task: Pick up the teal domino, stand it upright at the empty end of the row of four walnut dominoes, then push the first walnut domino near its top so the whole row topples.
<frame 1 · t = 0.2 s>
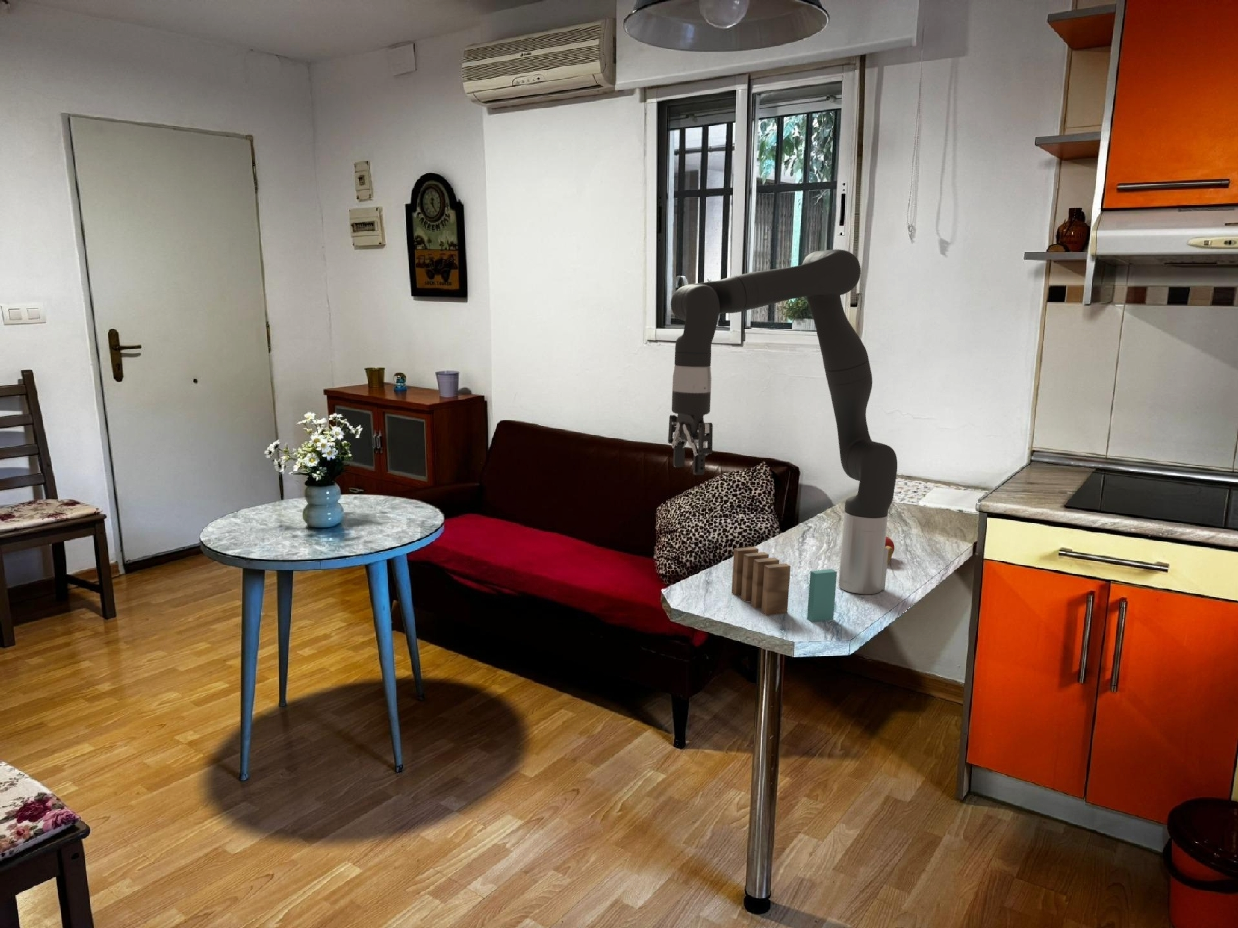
hand: (688, 470, 169), 29 cm above the breakfast bar, tool pointing down, fingers open, 8 cm apart
kendama: (872, 565, 210), on the breakfast bar
domino 1: (743, 593, 185), on the breakfast bar
domino 3: (763, 605, 178), on the breakfast bar
domino 2: (753, 599, 182), on the breakfast bar
teal domino: (820, 619, 171), on the breakfast bar
domino 4: (774, 612, 174), on the breakfast bar
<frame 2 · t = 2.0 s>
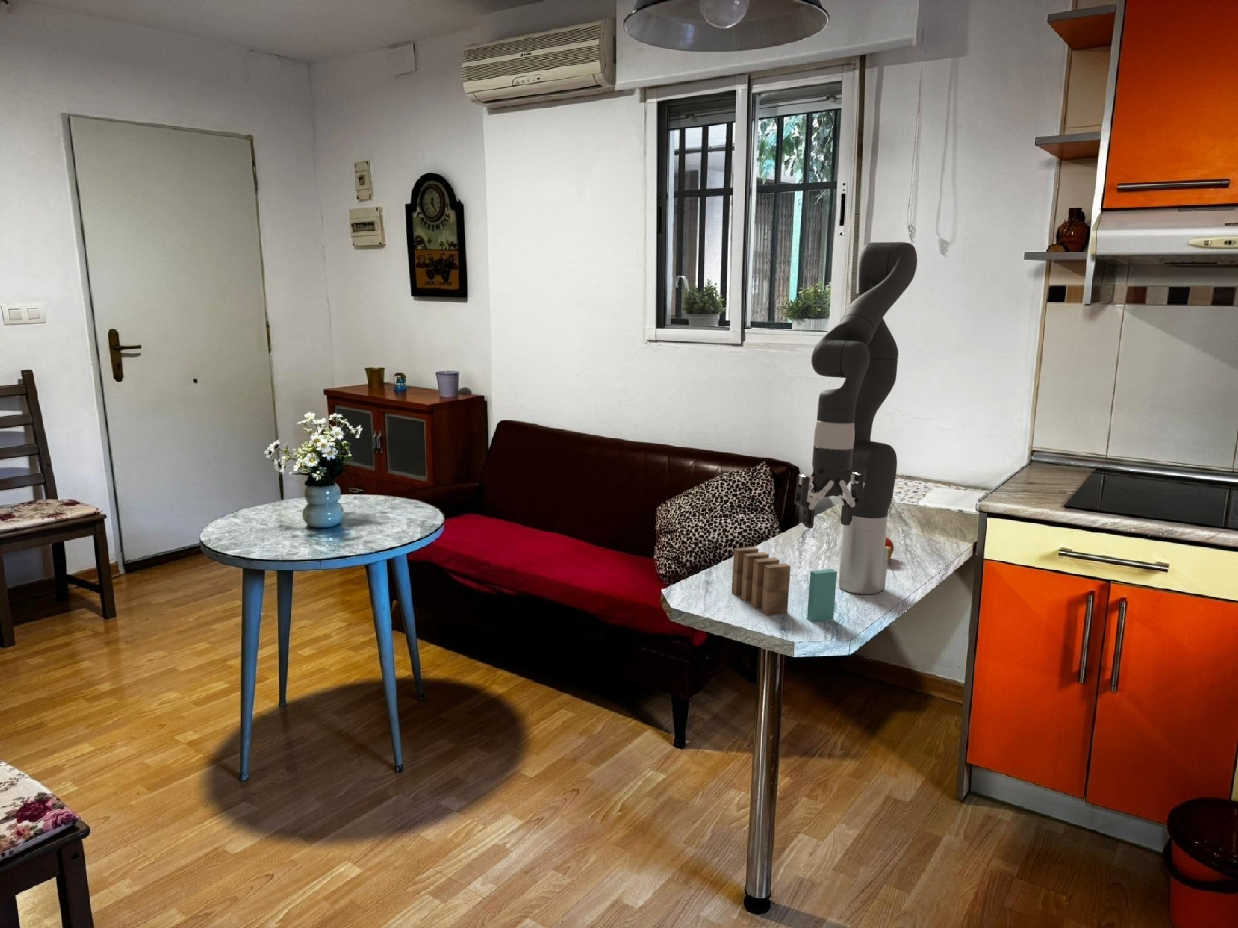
hand: (826, 525, 167), 19 cm above the breakfast bar, tool pointing down, fingers open, 8 cm apart
nothing on the breakfast bar moved.
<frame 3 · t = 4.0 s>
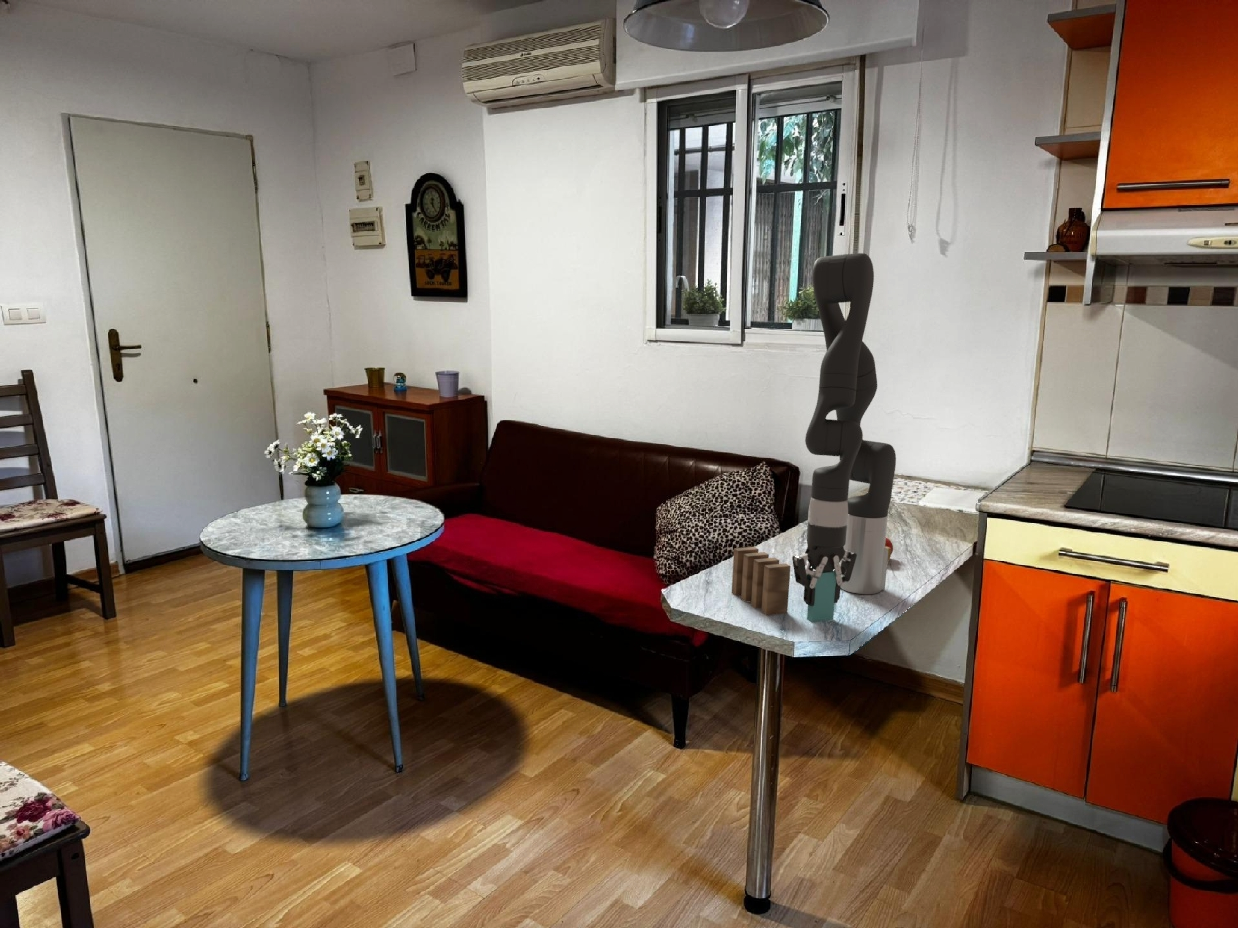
hand: (821, 602, 170), 3 cm above the breakfast bar, tool pointing down, fingers closed on teal domino, 5 cm apart
teal domino: (820, 619, 171), on the breakfast bar, touching gripper
when the fingers open (4 cm above the breakfast bar, at t = 9.5 s): teal domino stays where it is, on the breakfast bar.
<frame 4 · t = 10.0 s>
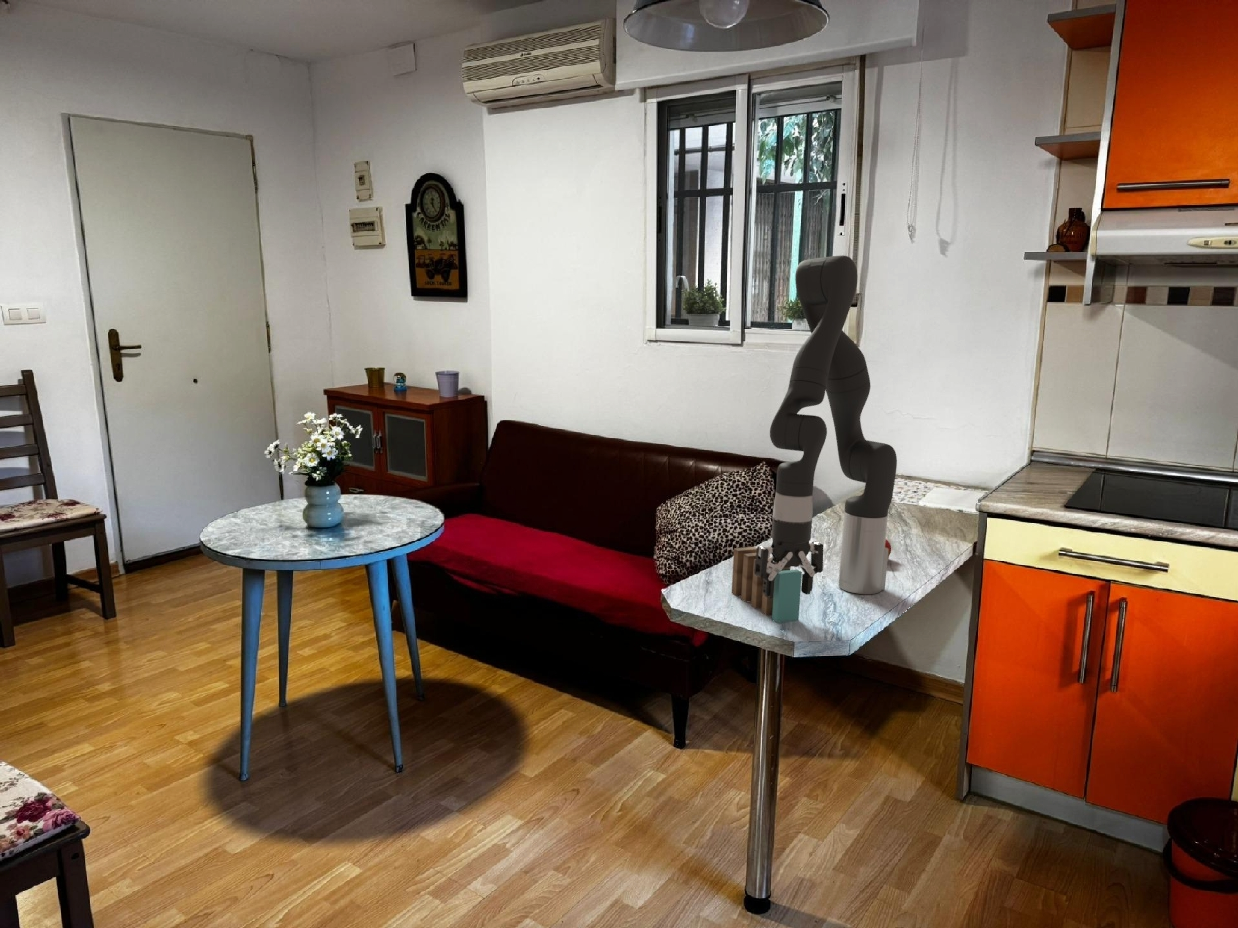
hand: (787, 595, 169), 5 cm above the breakfast bar, tool pointing down, fingers open, 8 cm apart
teal domino: (785, 619, 170), on the breakfast bar
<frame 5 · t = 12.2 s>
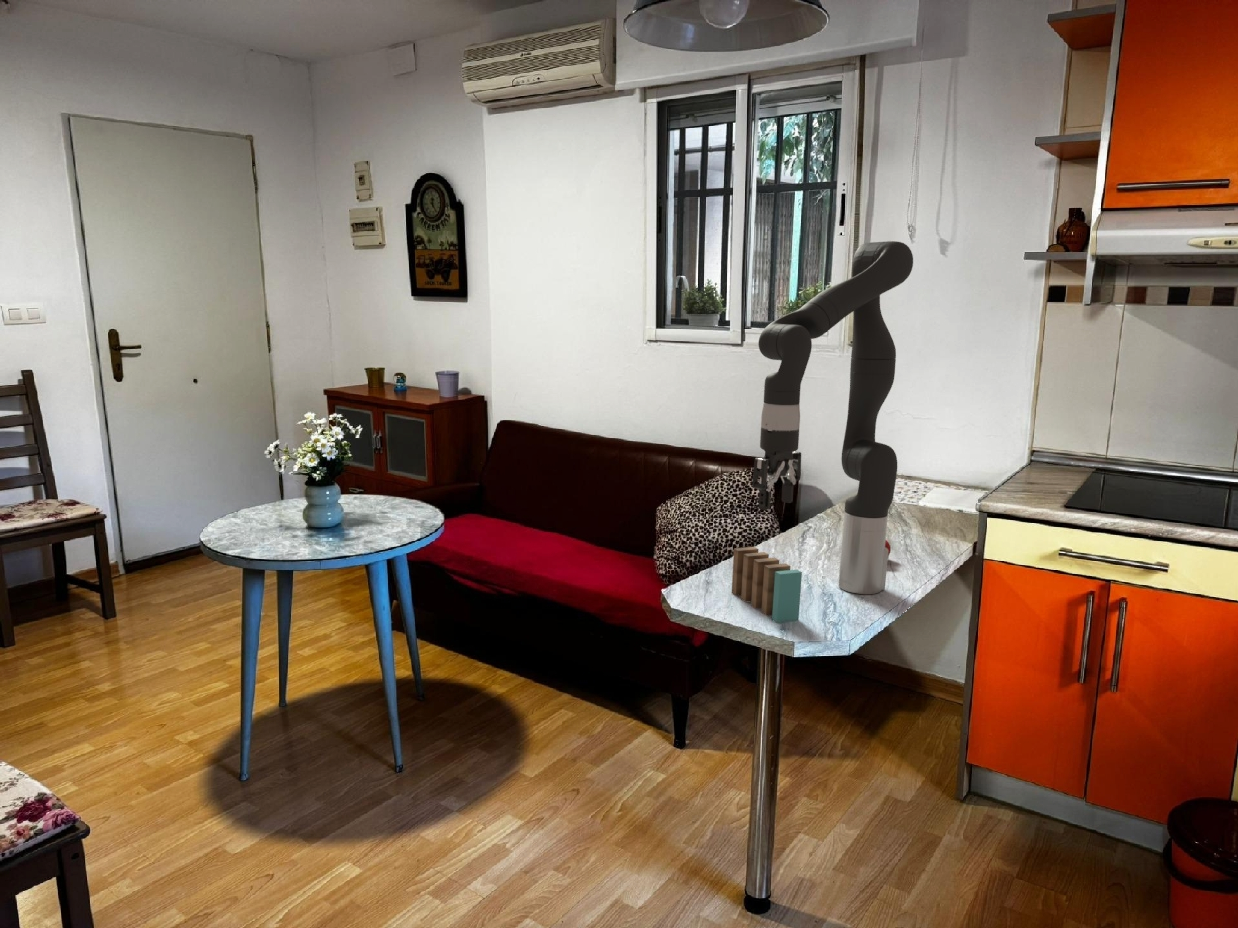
hand: (775, 505, 172), 22 cm above the breakfast bar, tool pointing down, fingers open, 8 cm apart
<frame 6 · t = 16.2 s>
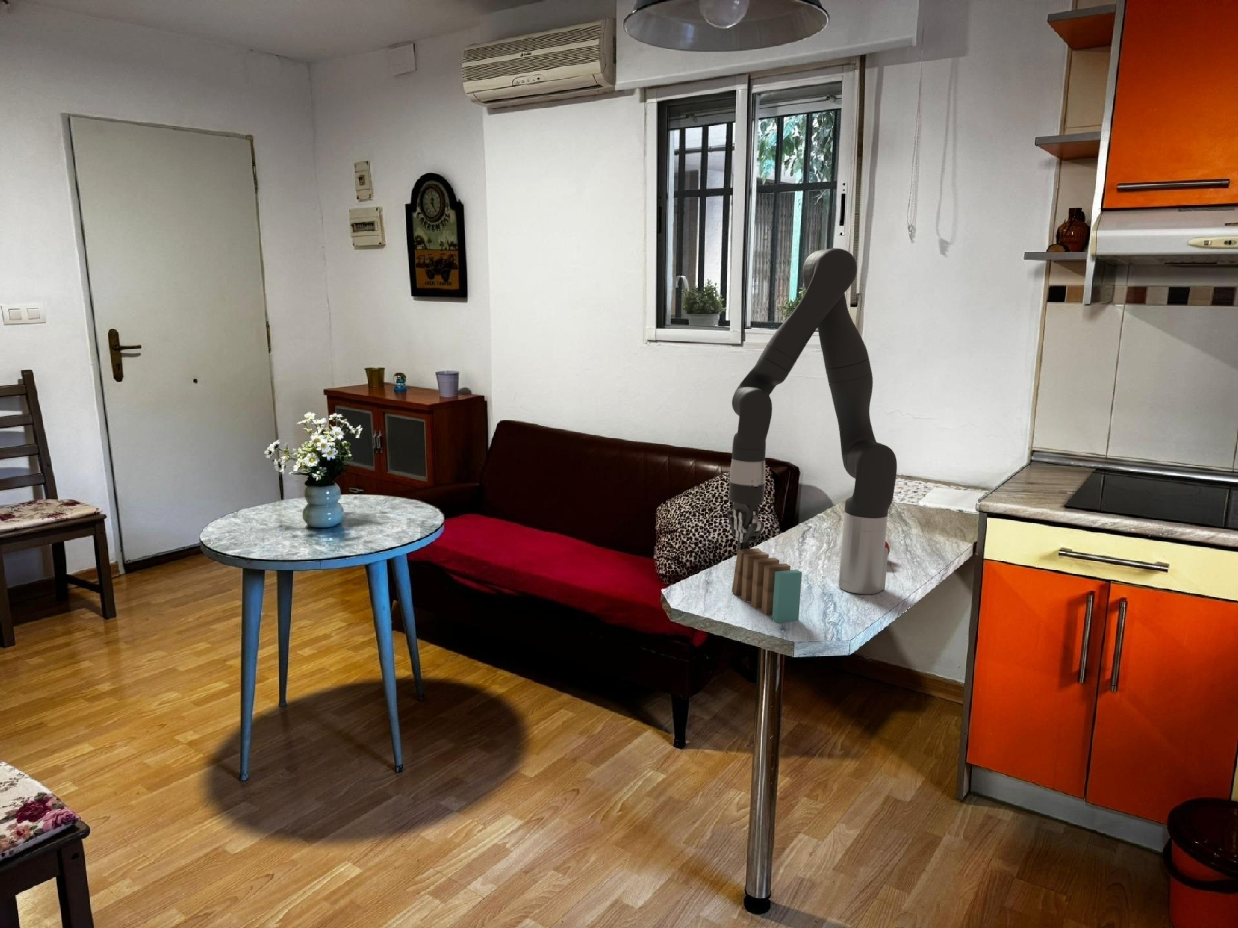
hand: (742, 558, 185), 7 cm above the breakfast bar, tool pointing down, fingers closed
domino 1: (743, 592, 185), on the breakfast bar, tilted 9°, touching gripper
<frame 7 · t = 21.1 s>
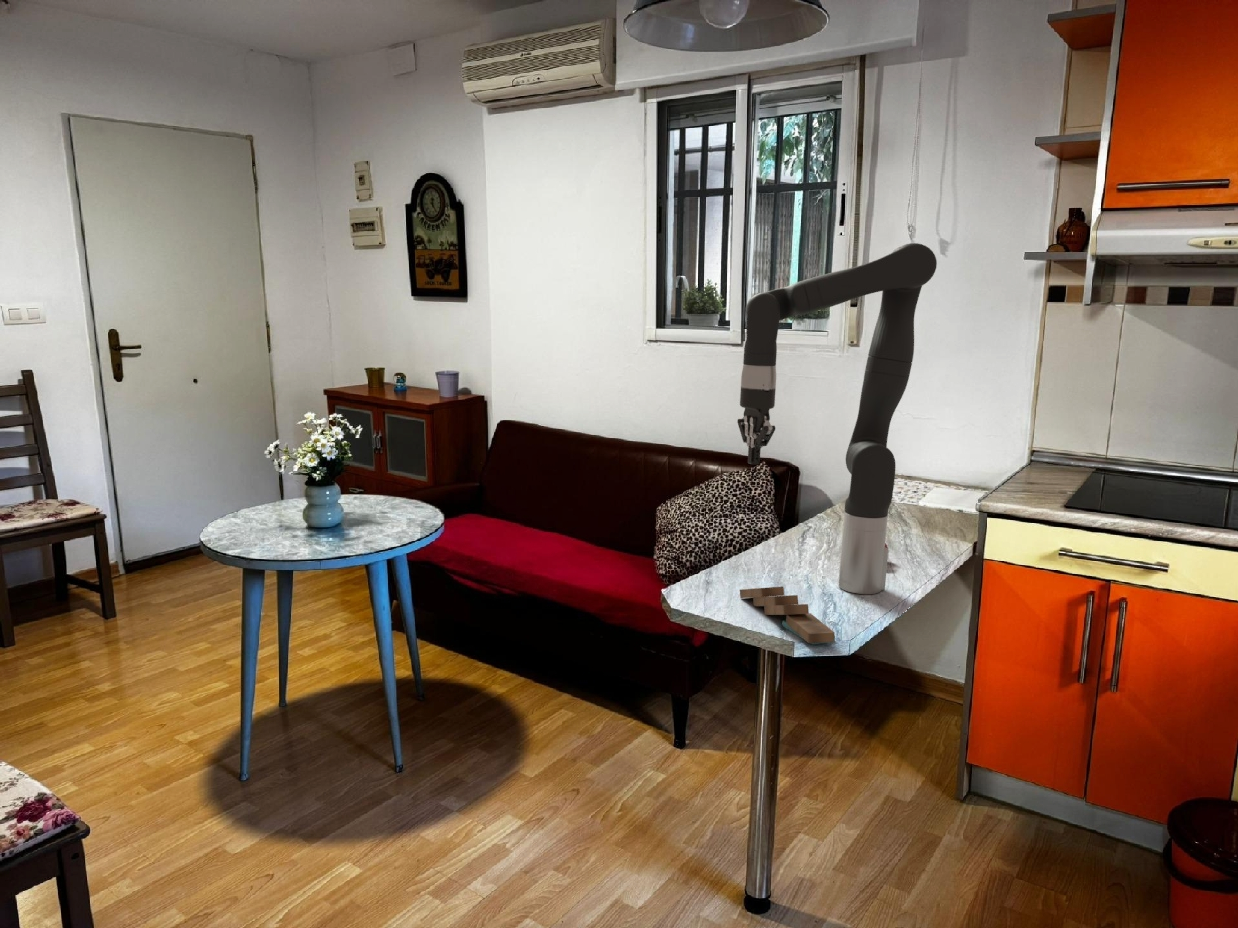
hand: (753, 463, 189), 27 cm above the breakfast bar, tool pointing down, fingers closed
domino 1: (750, 593, 183), point 1 cm above the breakfast bar, tilted 70°
domino 3: (776, 609, 173), point 1 cm above the breakfast bar, tilted 70°, touching domino 2, domino 4
domino 2: (764, 601, 178), point 1 cm above the breakfast bar, tilted 70°, touching domino 3
teal domino: (793, 623, 168), on the breakfast bar, tilted 90°, touching domino 4
domino 4: (798, 618, 166), point 2 cm above the breakfast bar, tilted 90°, touching domino 3, teal domino
at the end: teal domino tilted 90°; teal domino inside the target area (2.8 cm from its centre), on the breakfast bar; domino 3 tilted 70° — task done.
